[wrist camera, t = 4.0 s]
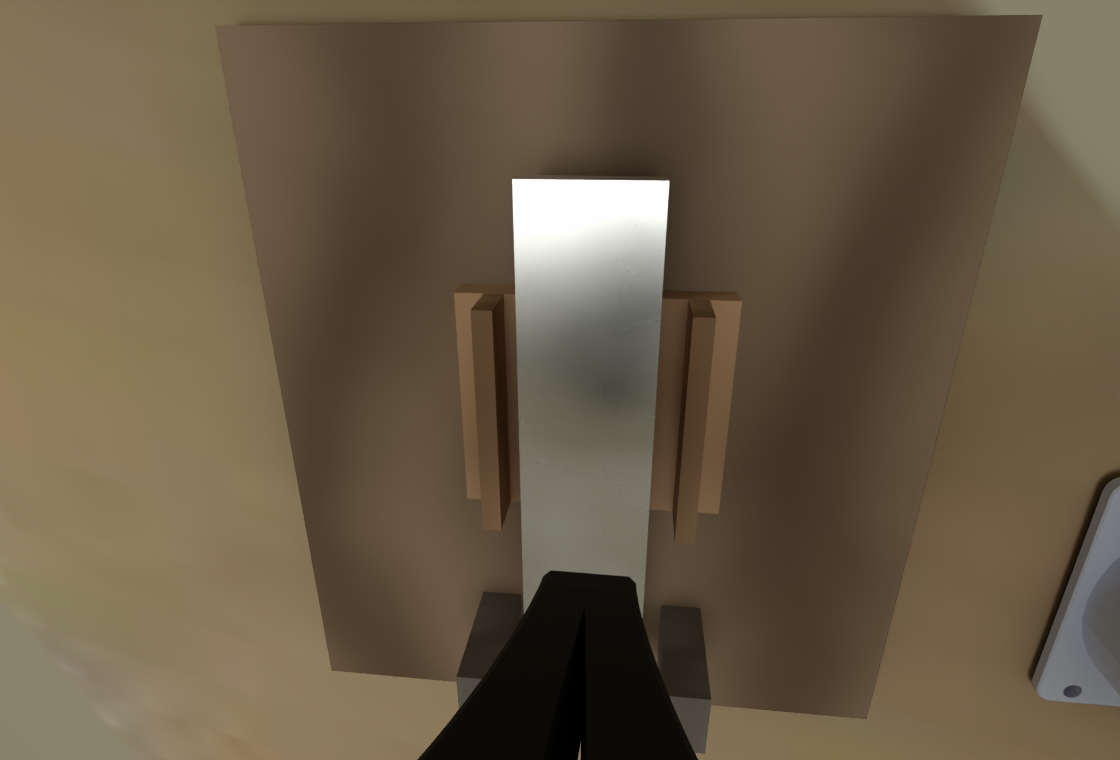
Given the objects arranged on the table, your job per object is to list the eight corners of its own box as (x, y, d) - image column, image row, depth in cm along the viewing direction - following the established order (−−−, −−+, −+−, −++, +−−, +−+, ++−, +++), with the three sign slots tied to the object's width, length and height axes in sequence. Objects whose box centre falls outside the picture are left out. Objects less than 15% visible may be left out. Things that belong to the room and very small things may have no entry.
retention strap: (687, 175, 13) (691, 182, 12) (649, 706, 19) (650, 744, 18) (501, 173, 14) (489, 179, 13) (518, 695, 19) (511, 730, 18)
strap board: (1017, 20, 14) (1162, -10, 10) (857, 693, 22) (904, 824, 18) (238, 29, 16) (107, 7, 12) (343, 648, 24) (284, 758, 20)
